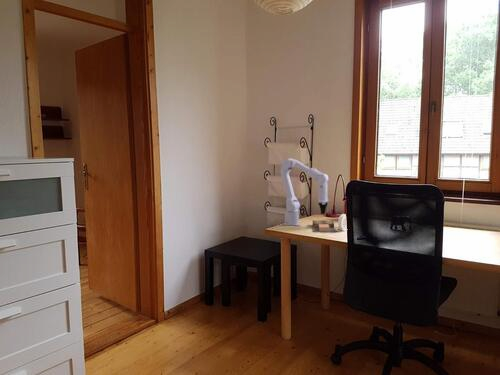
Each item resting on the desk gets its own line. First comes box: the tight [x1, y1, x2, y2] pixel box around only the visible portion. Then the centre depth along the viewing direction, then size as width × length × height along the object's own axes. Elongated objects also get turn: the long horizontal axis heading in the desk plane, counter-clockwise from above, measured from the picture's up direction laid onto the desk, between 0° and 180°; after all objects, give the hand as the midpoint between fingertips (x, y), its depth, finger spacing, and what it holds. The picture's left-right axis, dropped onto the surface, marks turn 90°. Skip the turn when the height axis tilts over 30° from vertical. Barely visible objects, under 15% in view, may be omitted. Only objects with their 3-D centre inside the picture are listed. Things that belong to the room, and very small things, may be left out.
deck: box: [312, 219, 335, 229], centre depth 250 cm, size 13×11×3 cm
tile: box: [319, 224, 330, 231], centre depth 239 cm, size 6×9×2 cm, turn 173°
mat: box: [312, 227, 338, 233], centre depth 239 cm, size 14×10×1 cm
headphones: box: [337, 213, 347, 232], centre depth 241 cm, size 22×2×10 cm, turn 139°
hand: (322, 214), depth 248 cm, fingers closed
